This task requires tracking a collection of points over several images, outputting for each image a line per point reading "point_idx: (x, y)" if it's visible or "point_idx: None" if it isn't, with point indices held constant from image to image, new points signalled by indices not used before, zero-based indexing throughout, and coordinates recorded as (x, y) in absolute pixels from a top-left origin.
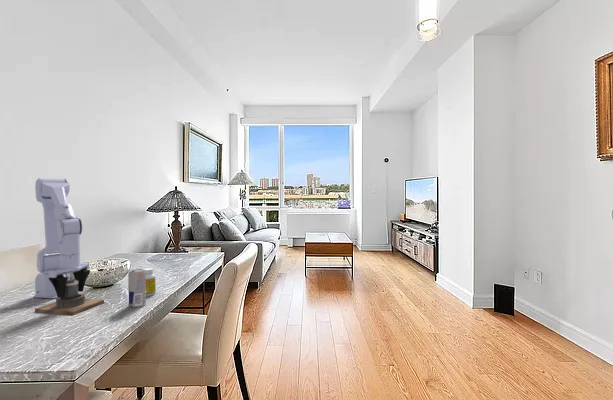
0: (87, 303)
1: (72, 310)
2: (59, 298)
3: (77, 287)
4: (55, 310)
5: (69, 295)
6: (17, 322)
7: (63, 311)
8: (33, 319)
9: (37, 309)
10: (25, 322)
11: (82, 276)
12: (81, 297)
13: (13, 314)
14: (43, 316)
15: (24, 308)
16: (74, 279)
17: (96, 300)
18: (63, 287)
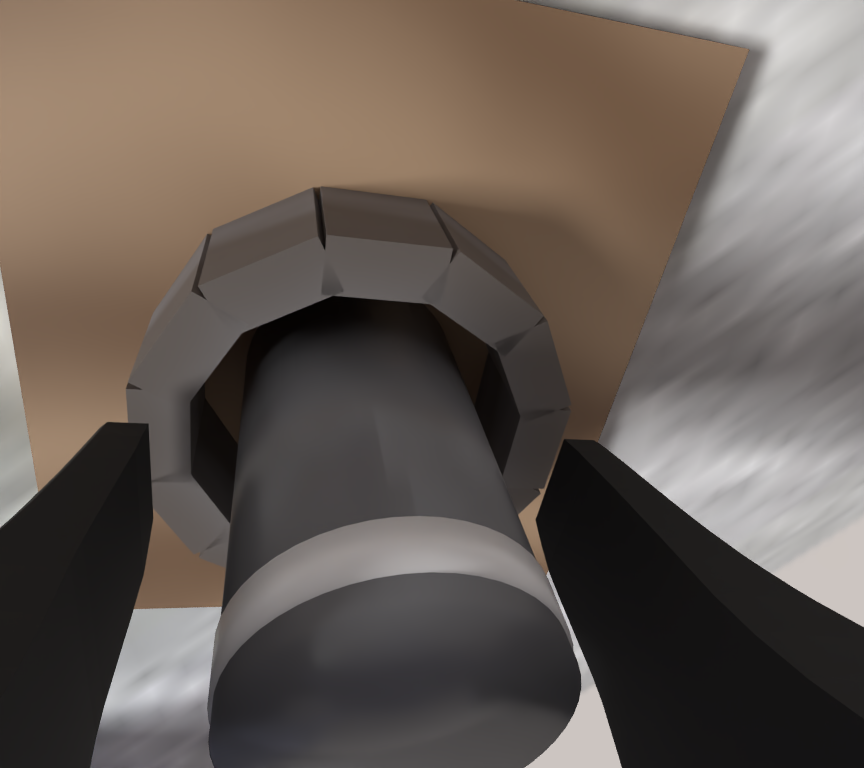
0: (281, 125)
1: (675, 124)
2: None
3: (357, 460)
4: (624, 370)
5: (478, 427)
6: (825, 482)
7: (667, 248)
8: (775, 419)
9: (545, 569)
10: (851, 421)
11: (13, 751)
12: (372, 239)
13: (582, 656)
14: (695, 398)
15: None
16: (244, 748)
17: (44, 67)
18: (733, 558)
